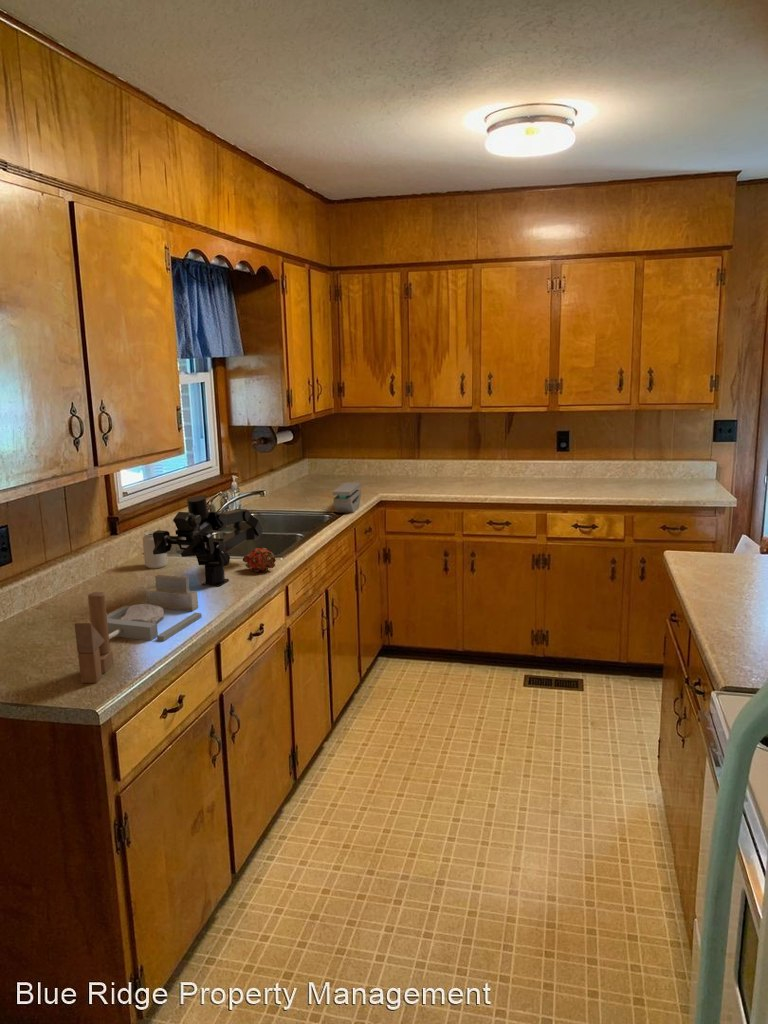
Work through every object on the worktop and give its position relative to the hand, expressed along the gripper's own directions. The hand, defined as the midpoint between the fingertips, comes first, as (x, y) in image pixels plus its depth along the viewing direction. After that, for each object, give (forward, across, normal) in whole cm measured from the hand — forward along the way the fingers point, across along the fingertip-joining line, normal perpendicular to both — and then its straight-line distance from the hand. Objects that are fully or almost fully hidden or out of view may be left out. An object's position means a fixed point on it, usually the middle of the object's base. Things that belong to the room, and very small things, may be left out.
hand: (167, 554), depth 210 cm
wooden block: (+46, +9, +10) cm, 47 cm away
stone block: (+15, 0, +14) cm, 21 cm away
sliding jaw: (+2, 0, +16) cm, 16 cm away
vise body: (+21, 0, +13) cm, 25 cm away
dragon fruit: (-37, +8, +22) cm, 44 cm away
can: (-34, -30, +22) cm, 50 cm away
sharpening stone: (-136, +2, +37) cm, 141 cm away
